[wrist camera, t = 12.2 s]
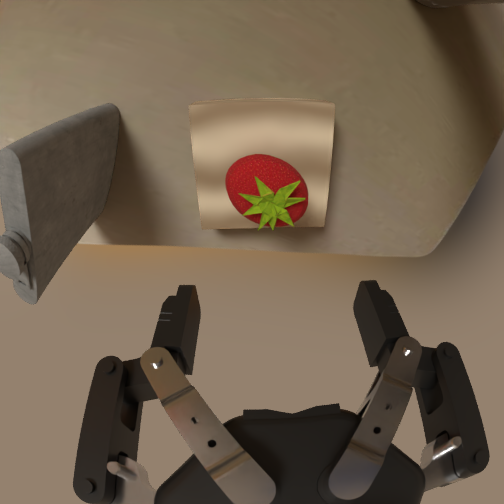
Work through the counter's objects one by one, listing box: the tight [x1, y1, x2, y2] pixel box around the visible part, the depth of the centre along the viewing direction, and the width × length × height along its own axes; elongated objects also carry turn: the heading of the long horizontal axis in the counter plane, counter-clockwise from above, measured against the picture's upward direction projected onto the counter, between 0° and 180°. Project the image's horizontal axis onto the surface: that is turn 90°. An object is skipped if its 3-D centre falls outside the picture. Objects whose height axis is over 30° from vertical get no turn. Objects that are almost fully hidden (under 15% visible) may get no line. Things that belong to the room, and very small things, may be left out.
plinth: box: [189, 98, 335, 229], centre depth 29 cm, size 14×14×4 cm
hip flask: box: [0, 103, 120, 304], centre depth 22 cm, size 16×4×20 cm, turn 158°
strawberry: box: [225, 154, 308, 230], centre depth 24 cm, size 6×8×10 cm
